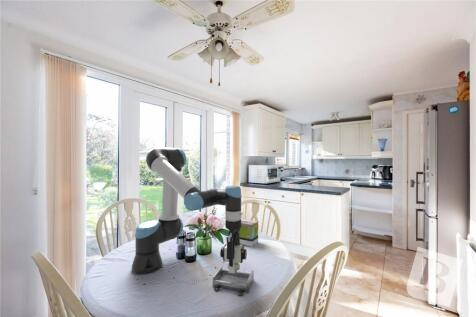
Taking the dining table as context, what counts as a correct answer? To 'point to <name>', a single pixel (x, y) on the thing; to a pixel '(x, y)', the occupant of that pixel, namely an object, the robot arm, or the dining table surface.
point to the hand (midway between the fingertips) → (233, 269)
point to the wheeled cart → (233, 281)
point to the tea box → (249, 232)
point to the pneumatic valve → (235, 255)
